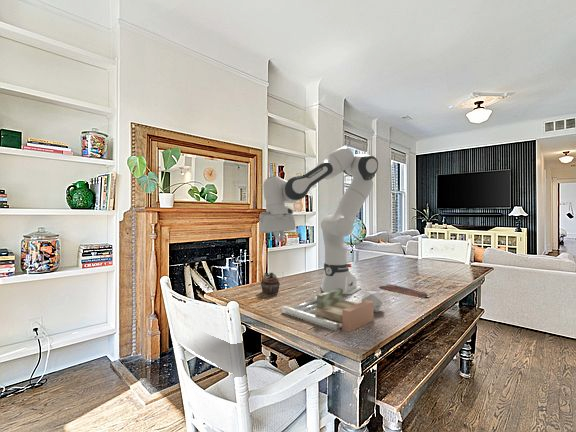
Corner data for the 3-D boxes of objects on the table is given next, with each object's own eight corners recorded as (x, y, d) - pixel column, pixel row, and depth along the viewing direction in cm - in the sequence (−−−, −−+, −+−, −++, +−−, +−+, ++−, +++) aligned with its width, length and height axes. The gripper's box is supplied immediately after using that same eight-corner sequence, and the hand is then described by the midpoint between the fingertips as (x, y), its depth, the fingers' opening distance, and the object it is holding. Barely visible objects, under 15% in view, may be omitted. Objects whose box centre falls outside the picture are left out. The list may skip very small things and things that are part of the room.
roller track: (316, 301, 143) (316, 296, 143) (369, 316, 124) (369, 310, 124) (282, 312, 128) (282, 306, 128) (336, 331, 109) (336, 324, 109)
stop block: (366, 318, 122) (366, 300, 122) (373, 320, 120) (373, 301, 119) (342, 329, 110) (342, 309, 110) (349, 331, 108) (349, 311, 108)
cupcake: (283, 293, 156) (283, 273, 156) (264, 296, 152) (264, 275, 151) (275, 289, 164) (275, 270, 164) (257, 291, 160) (257, 271, 160)
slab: (340, 305, 130) (340, 287, 130) (365, 312, 122) (366, 293, 122) (315, 314, 119) (315, 295, 119) (341, 322, 111) (341, 302, 110)
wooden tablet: (436, 293, 154) (426, 294, 148) (435, 298, 154) (425, 299, 148) (388, 283, 175) (378, 284, 169) (388, 287, 175) (377, 288, 168)
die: (373, 317, 125) (387, 297, 126) (355, 303, 129) (369, 284, 130) (375, 318, 132) (388, 299, 133) (357, 305, 136) (370, 286, 137)
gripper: (264, 210, 135) (268, 242, 134) (295, 210, 150) (299, 238, 149) (254, 213, 139) (258, 244, 138) (285, 212, 154) (289, 240, 153)
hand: (280, 241), depth 143 cm, fingers closed
